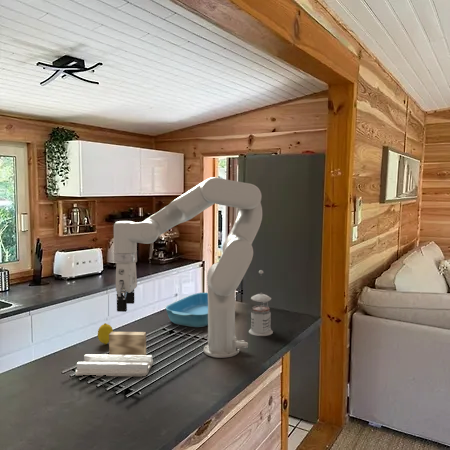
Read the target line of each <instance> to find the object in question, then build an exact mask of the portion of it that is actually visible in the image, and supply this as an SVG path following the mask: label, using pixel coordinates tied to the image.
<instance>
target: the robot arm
mask: <svg viewBox="0 0 450 450" xmlns="http://www.w3.org/2000/svg"><path fill="white" fill-rule="evenodd" d="M261 201H262V192H261V190H260V188H259V187H258V186H256V185H255V184H252V183H249V182H244V181H243V182H242V181H237V180H230V179H227V178H222V177H219V176H218V177H217V176H213V177H209V178H206V179H204V180H203V181H202V182H200V183H198V184H197V185H195V186H193V187H191V188H190V189H189V190H187V191H186V192H184V193H183V194H181V195H180V196H178V197H177V198H175V199H174V200H172V201H170V203H169V204H168V205H166V206H164V207H163V208H161V209H160V210H159V211H157V212H155V213H154V214H152V215H150V216H149V217H147V218H145V219H144V220H143V221H139V222H138V221H137V222H135V221H132V220H119V221H118V220H117V221H115V223H113V263H114V264H116V265H115V266H116V269H115V291H116V312H118V313H119V312H121V313H123V312H127V311H128V305H129V304H130V305H132V304H134V305H135V289H136V288H137V287H138V280H137V265H136V263H137V262H138V250H137V249H138V248H137V247H138V243H139V244H144V245H145V244H147V245H148V244H153V243H154V242H156V241H157V240H158V238H159V237H160V236H162V235H163V234H164V233H166V232H167V231H169V230H171V229H173V228H174V227H175V226H177V225H180V224H183V223H185V222H188V221H190V220H192V219H194V218H195V217H196V216H198V215H199V214H200V213H202V212H204V211H205V210H207V209H209V208H210V207H212V206H213V205H215V204H216V205H220V206H224V207H225V206H226V207H229V208H230V207H231V208H236V209H238V210H237V216H236V219H235V221H234V223H233V226H232V228H231V229H230V232H229V233H228V235H227V237H226V238H225V241H224V242H223V244H222V248H221V250H222V254H221V257H220V259H219V261H217V262H215V263H213V264H212V265H211V266H210V267H209V269H208V270H207V276H206V285H207V293H208V325H207V344H206V345H204V346H203V353H204V354H205V355H206V356H209V357H211V358H219V359H221V358H222V359H224V358H231V357H234V356H236V355H238V354H239V353H240V348H243V349H248V347H249V343H248V342H246V341H245V340H238V339H237V336H236V294H235V293H236V292H235V291H236V290H237V289H238V288H239V285H240V284H241V282H242V280H243V278H244V277H245V275H246V273H247V271H248V269H249V267H250V264H251V263H252V261H253V256H254V248H253V242H254V240H255V238H256V236H257V234H258V232H259V230H260V226H261V223H262V221H263V206H262V202H261Z"/></svg>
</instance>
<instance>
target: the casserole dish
mask: <svg viewBox="0 0 450 450" xmlns="http://www.w3.org/2000/svg"><path fill="white" fill-rule="evenodd" d="M165 311H166V314H167V316H168V319H169V321H170V322H171V323H173V324H175V325H178V326H179V325H180V326H183V327H184V326H186V327H189V328H190V327H191V328H203V327H204V328H205V327H206V326H207V327H208V292H198V293H197V292H196V293H193V294H190V295H188V296H186V297H183V298H181V299H178V300H176V301H174V302H172V303H170V304H169V305H166V306H165Z"/></svg>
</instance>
